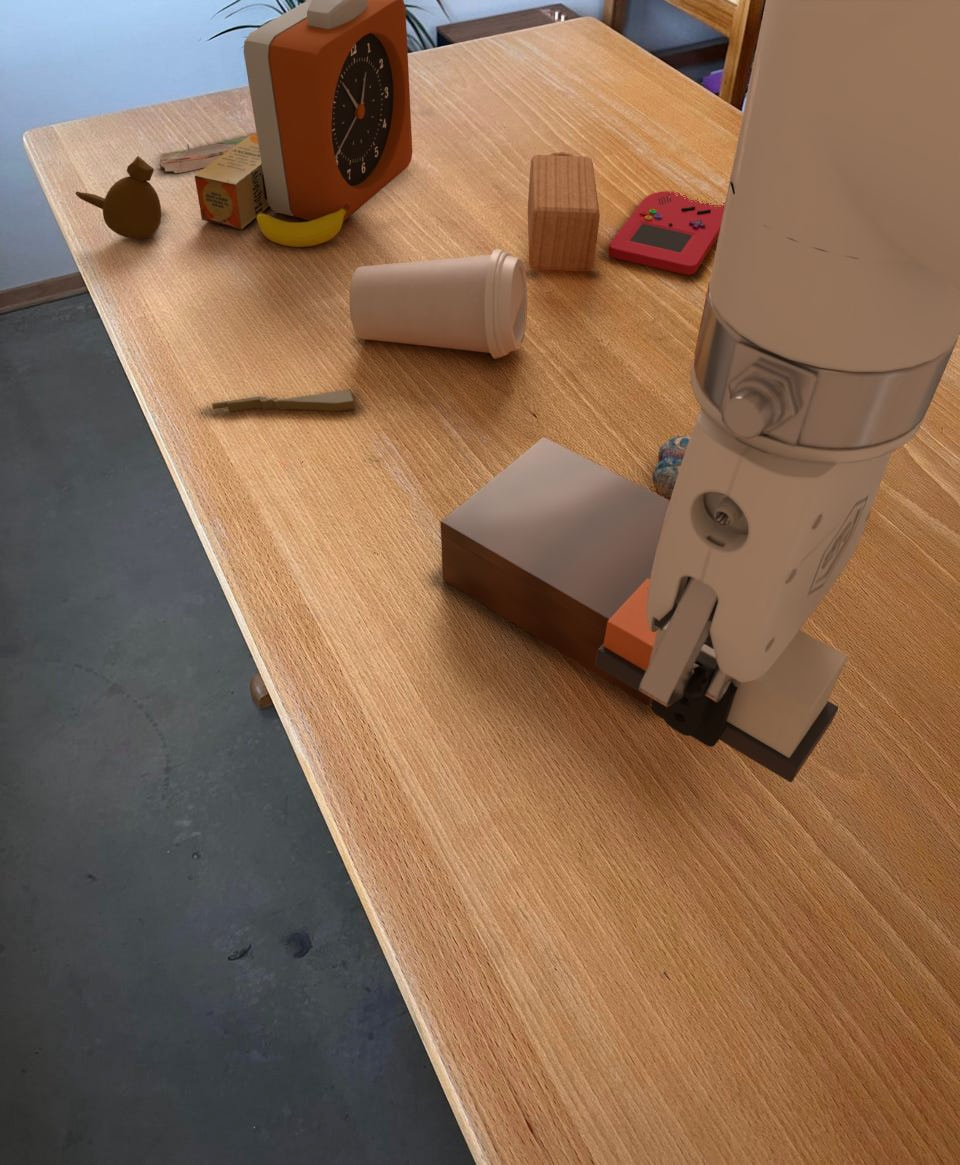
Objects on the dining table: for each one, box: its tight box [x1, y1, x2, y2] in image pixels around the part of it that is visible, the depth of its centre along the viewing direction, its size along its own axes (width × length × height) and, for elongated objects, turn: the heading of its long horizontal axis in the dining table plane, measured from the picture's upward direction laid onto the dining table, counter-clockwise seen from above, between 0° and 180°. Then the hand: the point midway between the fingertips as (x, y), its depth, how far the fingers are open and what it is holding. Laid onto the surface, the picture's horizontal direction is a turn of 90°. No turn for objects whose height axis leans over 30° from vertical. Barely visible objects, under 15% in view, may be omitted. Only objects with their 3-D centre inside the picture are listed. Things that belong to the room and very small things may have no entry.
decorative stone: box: [651, 434, 691, 499], centre depth 80 cm, size 6×4×5 cm
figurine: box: [75, 155, 162, 240], centre depth 106 cm, size 8×8×6 cm
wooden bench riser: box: [439, 436, 670, 707], centre depth 71 cm, size 18×12×6 cm, turn 51°
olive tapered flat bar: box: [211, 389, 355, 412], centre depth 87 cm, size 12×2×1 cm, turn 95°
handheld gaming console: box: [608, 190, 725, 276], centre depth 108 cm, size 10×1×15 cm
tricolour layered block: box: [595, 578, 849, 783], centre depth 44 cm, size 10×4×5 cm, turn 52°
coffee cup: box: [348, 248, 528, 359], centre depth 92 cm, size 10×10×15 cm
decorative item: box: [527, 151, 601, 272], centre depth 107 cm, size 7×7×20 cm
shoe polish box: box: [194, 133, 270, 230], centre depth 111 cm, size 5×5×12 cm
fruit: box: [255, 204, 350, 248], centre depth 106 cm, size 10×2×5 cm
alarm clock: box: [243, 0, 413, 224], centre depth 107 cm, size 18×9×21 cm, turn 154°
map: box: [159, 136, 247, 174], centre depth 122 cm, size 5×20×1 cm, turn 121°
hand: (712, 689), depth 45 cm, fingers closed on tricolour layered block, 4 cm apart
